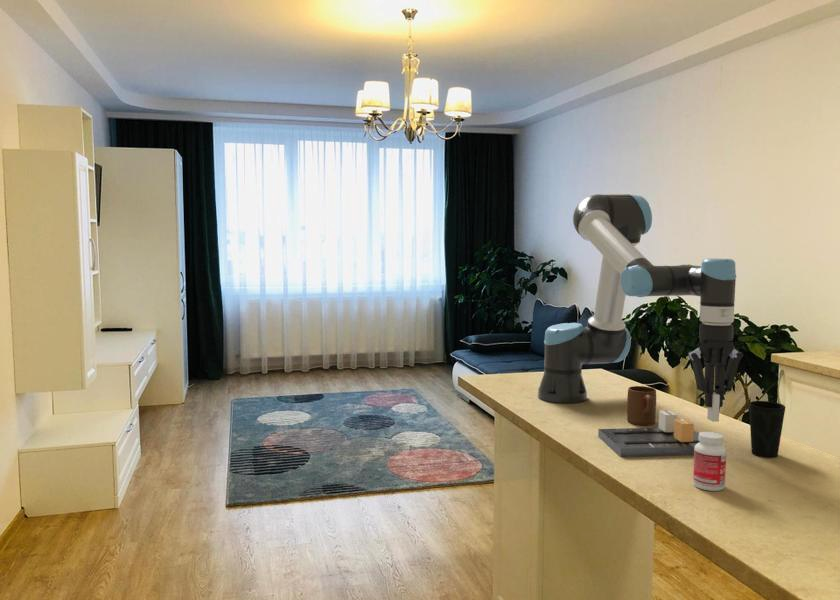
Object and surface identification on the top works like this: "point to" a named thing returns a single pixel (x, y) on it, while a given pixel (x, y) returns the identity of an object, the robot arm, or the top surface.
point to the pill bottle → (709, 462)
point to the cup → (766, 427)
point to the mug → (641, 405)
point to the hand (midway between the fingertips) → (713, 420)
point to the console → (646, 442)
